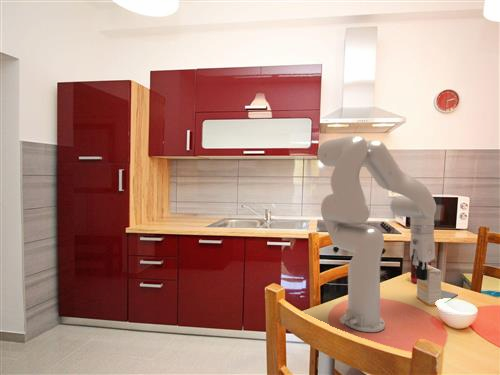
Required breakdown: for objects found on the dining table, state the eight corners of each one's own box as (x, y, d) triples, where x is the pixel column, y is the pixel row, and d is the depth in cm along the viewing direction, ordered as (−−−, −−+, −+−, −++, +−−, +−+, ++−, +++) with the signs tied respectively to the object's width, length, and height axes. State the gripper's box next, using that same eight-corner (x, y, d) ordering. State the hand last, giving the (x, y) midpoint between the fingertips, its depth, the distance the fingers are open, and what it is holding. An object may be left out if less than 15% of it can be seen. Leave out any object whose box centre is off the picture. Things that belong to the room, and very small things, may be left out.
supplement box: (441, 306, 109) (442, 270, 109) (428, 306, 109) (429, 270, 109) (428, 297, 117) (428, 264, 117) (416, 297, 117) (416, 264, 117)
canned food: (434, 284, 133) (435, 259, 132) (422, 286, 130) (422, 261, 129) (419, 279, 140) (419, 255, 139) (407, 281, 137) (407, 257, 137)
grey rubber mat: (444, 302, 112) (444, 301, 112) (422, 295, 119) (422, 294, 119) (457, 295, 119) (457, 294, 119) (436, 289, 126) (436, 288, 126)
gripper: (423, 233, 102) (422, 286, 102) (442, 229, 111) (441, 278, 111) (401, 230, 108) (400, 280, 108) (420, 226, 117) (420, 273, 117)
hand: (421, 279), depth 110 cm, fingers closed
